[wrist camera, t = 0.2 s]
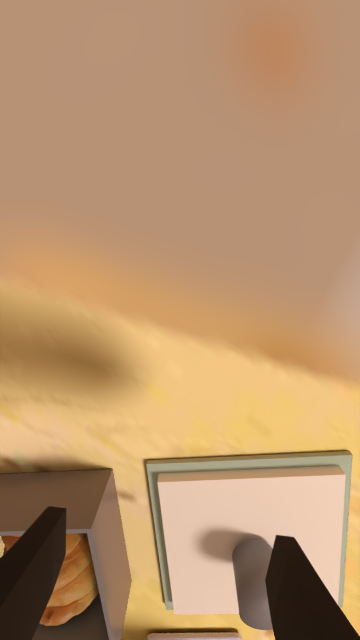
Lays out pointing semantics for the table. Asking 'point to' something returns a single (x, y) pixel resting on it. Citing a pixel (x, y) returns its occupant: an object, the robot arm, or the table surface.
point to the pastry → (69, 580)
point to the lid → (247, 534)
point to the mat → (243, 463)
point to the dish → (81, 517)
